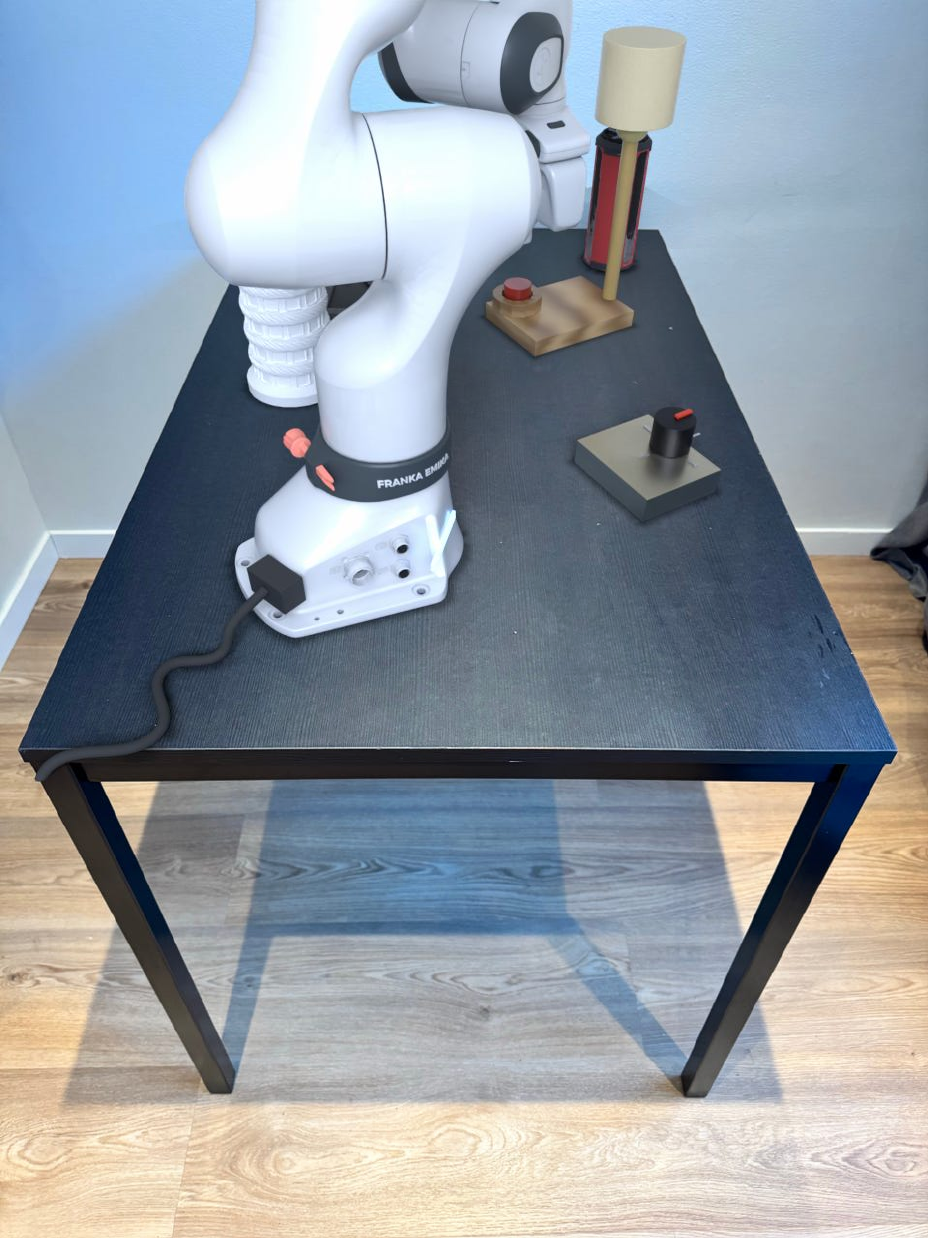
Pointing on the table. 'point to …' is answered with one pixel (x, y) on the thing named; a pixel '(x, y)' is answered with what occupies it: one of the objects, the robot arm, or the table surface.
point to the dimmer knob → (672, 431)
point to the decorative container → (283, 342)
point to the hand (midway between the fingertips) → (519, 239)
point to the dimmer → (644, 470)
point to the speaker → (613, 199)
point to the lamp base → (558, 315)
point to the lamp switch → (517, 289)
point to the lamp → (635, 109)
